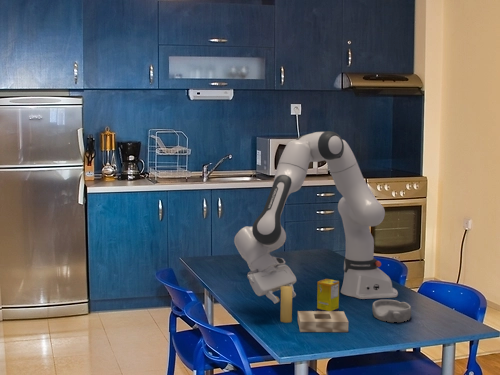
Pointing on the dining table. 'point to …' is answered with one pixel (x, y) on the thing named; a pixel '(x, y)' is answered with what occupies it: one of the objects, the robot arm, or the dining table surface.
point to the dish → (391, 310)
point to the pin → (286, 304)
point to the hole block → (322, 321)
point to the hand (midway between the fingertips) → (285, 299)
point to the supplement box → (327, 295)
